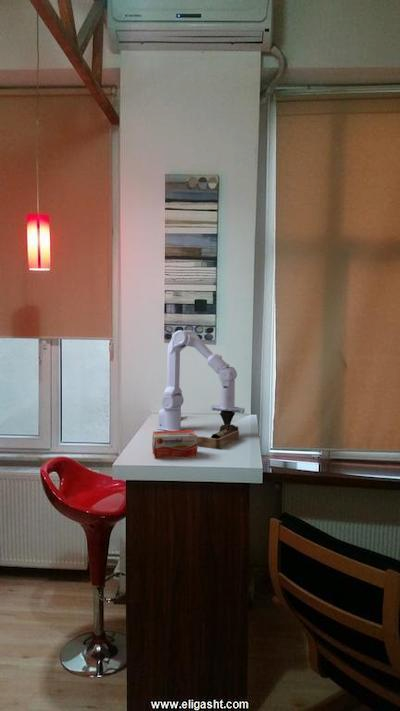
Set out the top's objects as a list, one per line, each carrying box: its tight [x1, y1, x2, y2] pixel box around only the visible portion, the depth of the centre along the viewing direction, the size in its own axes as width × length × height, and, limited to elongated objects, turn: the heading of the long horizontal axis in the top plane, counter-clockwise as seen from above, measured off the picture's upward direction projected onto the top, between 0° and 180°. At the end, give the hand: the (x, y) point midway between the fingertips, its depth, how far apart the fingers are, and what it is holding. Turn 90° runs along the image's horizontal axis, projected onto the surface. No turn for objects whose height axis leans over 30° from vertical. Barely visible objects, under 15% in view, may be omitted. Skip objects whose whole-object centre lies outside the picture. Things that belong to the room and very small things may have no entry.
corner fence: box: [197, 430, 240, 450], centre depth 192 cm, size 13×18×4 cm
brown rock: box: [210, 424, 239, 439], centre depth 195 cm, size 18×7×6 cm, turn 150°
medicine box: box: [151, 429, 199, 460], centre depth 173 cm, size 15×8×8 cm, turn 101°
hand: (227, 428), depth 204 cm, fingers closed
